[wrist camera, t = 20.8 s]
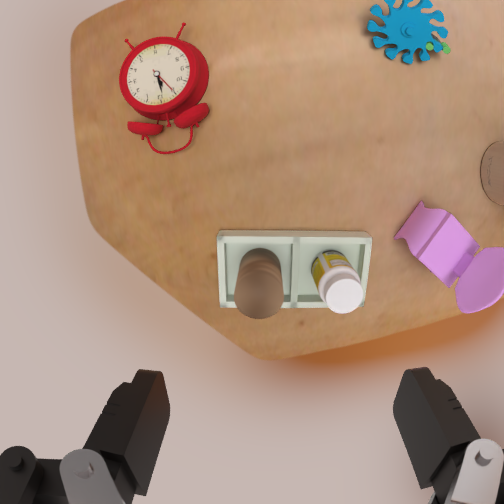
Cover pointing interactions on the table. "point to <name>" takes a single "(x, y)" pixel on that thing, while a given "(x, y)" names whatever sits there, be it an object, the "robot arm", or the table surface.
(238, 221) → the table surface
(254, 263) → the walnut dowel
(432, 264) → the toy chair
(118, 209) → the table surface
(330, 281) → the supplement bottle
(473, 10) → the table surface
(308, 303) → the slot rack
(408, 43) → the gear
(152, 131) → the alarm clock
